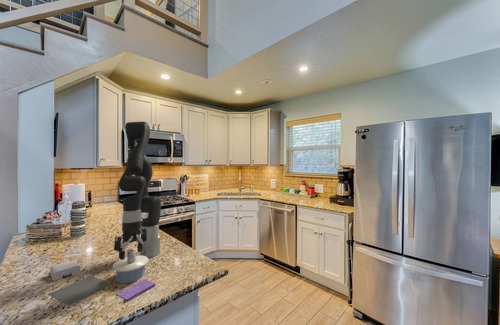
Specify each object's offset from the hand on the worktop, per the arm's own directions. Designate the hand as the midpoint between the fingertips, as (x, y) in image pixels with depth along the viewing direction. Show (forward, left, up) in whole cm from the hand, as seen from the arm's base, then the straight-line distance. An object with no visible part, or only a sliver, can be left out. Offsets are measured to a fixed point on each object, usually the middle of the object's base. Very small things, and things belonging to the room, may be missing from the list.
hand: (131, 255), depth 95 cm
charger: (+10, -32, -11) cm, 35 cm away
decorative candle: (-20, -82, -10) cm, 85 cm away
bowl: (0, 0, -10) cm, 10 cm away
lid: (0, 0, -4) cm, 4 cm away
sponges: (+5, +11, -11) cm, 16 cm away
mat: (+15, -9, -10) cm, 20 cm away
